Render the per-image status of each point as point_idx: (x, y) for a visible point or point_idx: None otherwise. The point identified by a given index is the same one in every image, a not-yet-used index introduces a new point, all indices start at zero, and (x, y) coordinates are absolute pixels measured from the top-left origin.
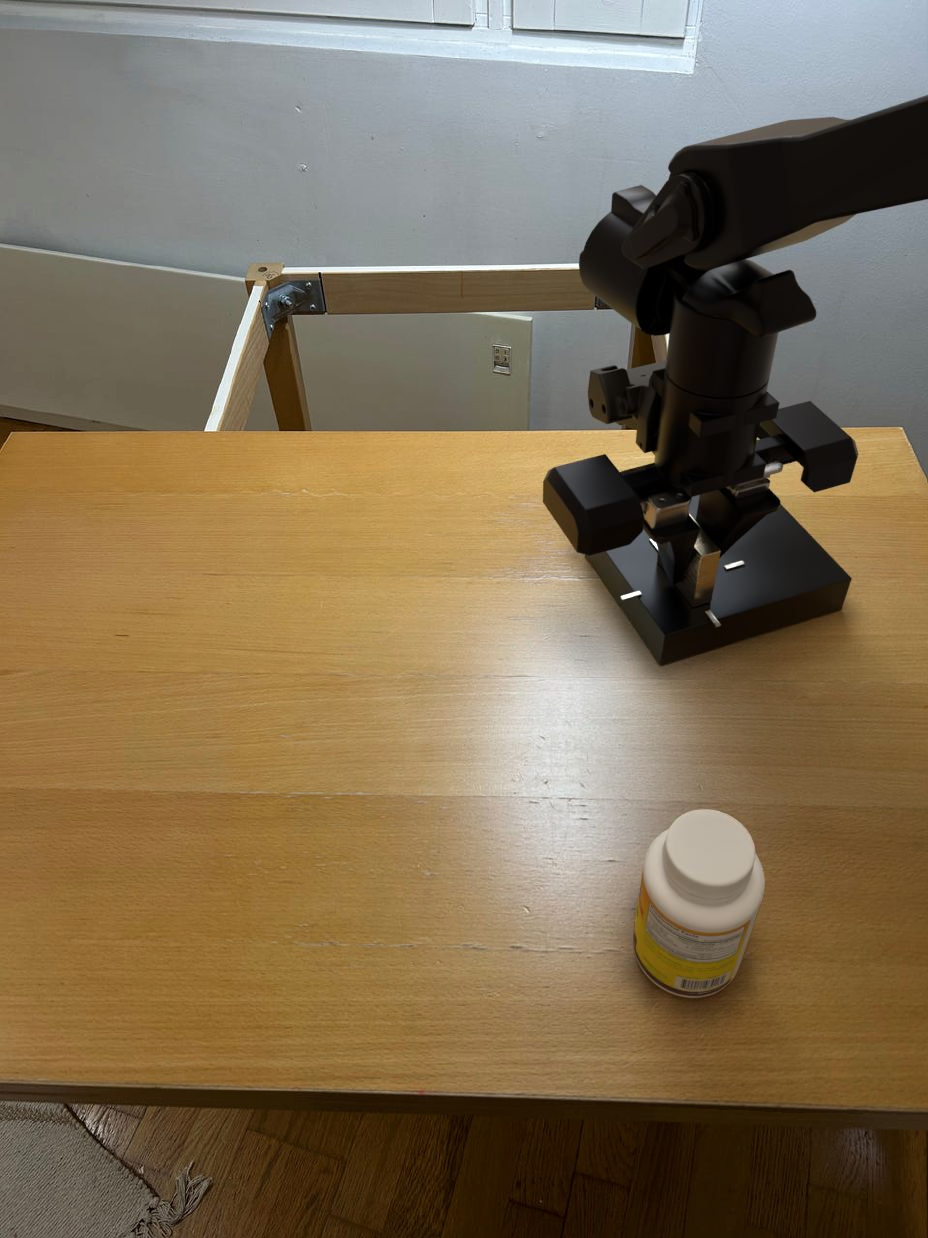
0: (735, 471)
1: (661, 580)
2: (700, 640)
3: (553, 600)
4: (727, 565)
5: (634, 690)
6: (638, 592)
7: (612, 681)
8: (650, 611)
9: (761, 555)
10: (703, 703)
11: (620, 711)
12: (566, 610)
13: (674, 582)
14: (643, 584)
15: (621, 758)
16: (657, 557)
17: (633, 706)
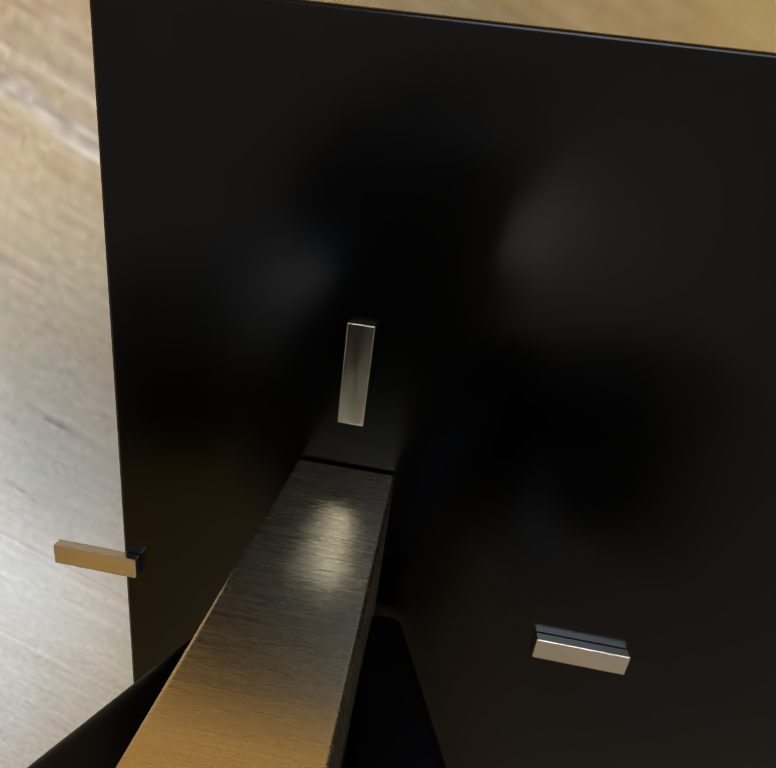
0: None
1: None
2: None
3: (10, 233)
4: (548, 648)
5: (113, 626)
6: (128, 565)
7: (73, 581)
8: (136, 640)
9: (736, 668)
10: None
11: (59, 649)
12: (38, 300)
13: None
14: (174, 533)
15: (20, 723)
16: (292, 471)
17: (92, 654)
